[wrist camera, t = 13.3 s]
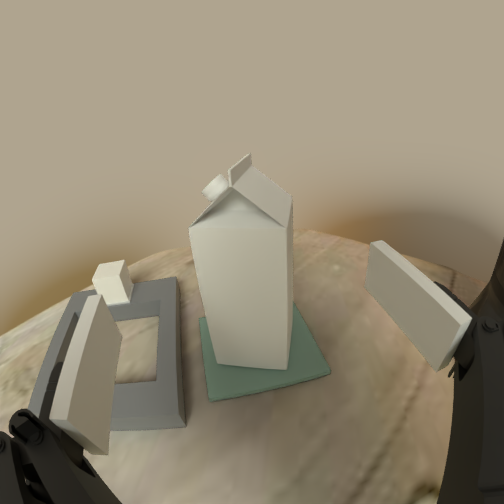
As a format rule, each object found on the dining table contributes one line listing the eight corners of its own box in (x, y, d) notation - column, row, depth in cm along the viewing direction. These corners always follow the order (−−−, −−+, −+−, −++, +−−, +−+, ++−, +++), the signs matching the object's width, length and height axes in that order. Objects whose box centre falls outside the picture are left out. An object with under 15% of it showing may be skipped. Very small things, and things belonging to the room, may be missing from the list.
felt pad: (292, 303, 36) (292, 300, 36) (330, 373, 25) (331, 370, 25) (199, 321, 34) (198, 318, 34) (209, 401, 24) (208, 398, 23)
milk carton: (292, 323, 32) (291, 151, 23) (287, 371, 26) (285, 168, 17) (232, 319, 33) (210, 155, 24) (216, 365, 27) (177, 174, 18)
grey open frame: (179, 290, 40) (170, 250, 37) (186, 426, 21) (163, 386, 18) (79, 305, 38) (63, 269, 34) (39, 425, 18) (3, 386, 15)
